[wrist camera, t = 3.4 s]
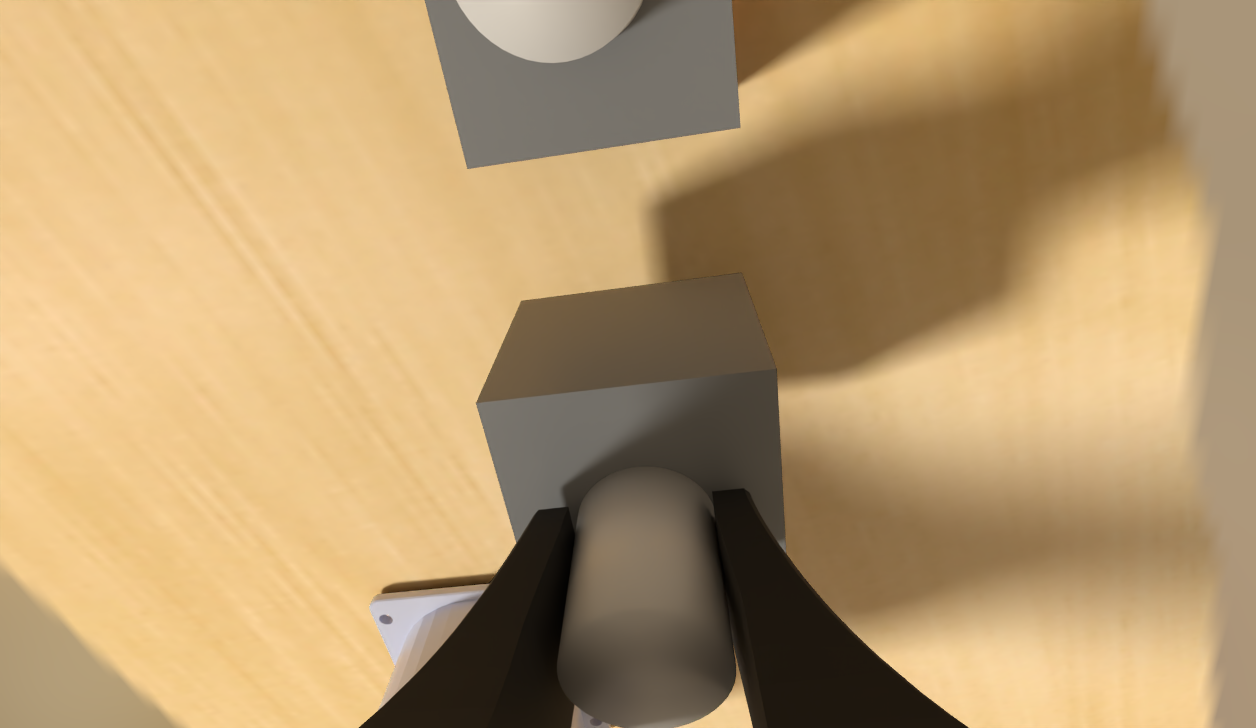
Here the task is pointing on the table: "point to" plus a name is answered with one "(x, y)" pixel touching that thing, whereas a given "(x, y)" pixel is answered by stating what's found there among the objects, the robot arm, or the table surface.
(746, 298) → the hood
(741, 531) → the robot arm
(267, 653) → the table surface
